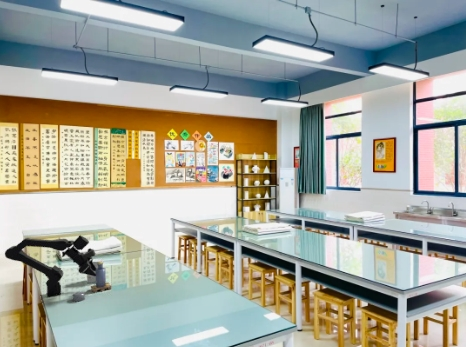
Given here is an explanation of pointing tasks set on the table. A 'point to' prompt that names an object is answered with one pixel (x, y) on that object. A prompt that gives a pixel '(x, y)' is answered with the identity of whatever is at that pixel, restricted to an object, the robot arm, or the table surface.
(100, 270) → the ink bottle
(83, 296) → the grey rounded block
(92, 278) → the small box
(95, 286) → the dock
